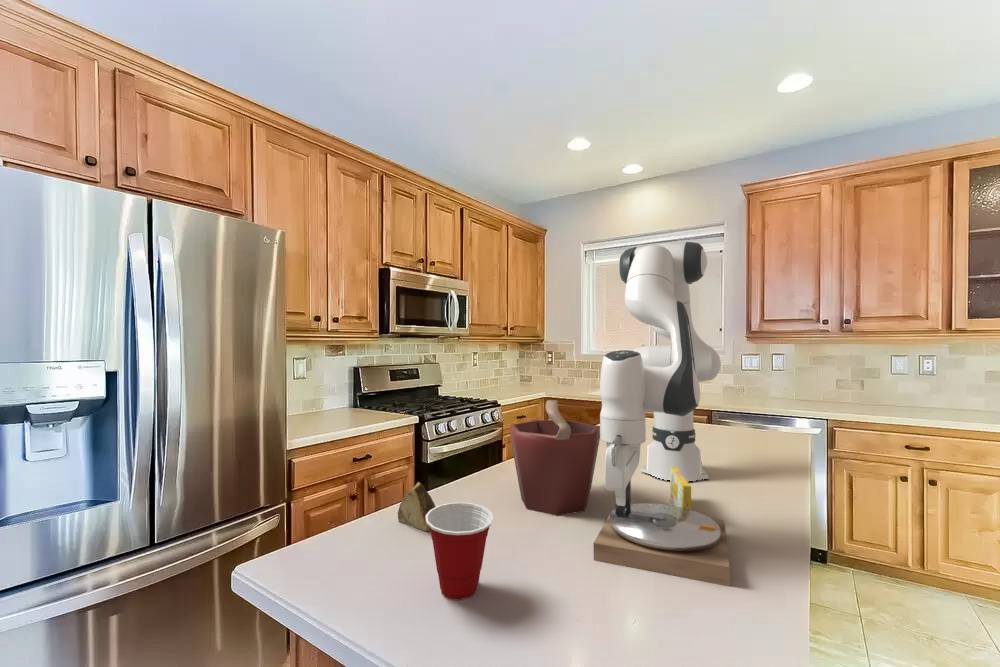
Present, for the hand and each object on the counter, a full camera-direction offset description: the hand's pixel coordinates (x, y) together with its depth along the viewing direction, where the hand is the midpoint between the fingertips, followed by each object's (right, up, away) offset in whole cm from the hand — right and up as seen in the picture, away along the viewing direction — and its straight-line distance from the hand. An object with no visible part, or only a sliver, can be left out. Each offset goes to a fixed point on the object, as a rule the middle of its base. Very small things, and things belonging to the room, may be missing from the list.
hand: (623, 501), depth 91 cm
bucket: (-12, -9, +21) cm, 26 cm away
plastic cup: (-31, -7, -19) cm, 37 cm away
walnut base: (+7, -8, -3) cm, 11 cm away
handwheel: (+7, -5, -3) cm, 9 cm away
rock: (-42, -8, +8) cm, 43 cm away
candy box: (+18, -8, +16) cm, 25 cm away
